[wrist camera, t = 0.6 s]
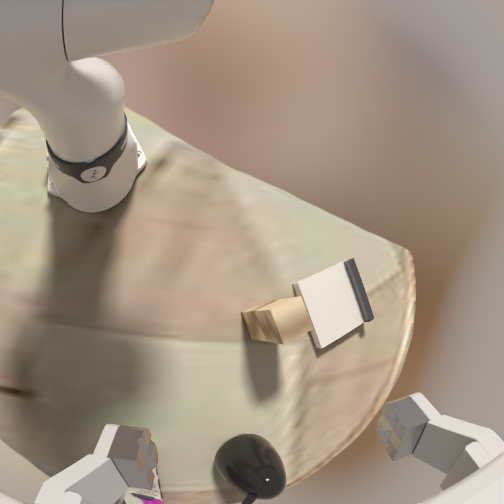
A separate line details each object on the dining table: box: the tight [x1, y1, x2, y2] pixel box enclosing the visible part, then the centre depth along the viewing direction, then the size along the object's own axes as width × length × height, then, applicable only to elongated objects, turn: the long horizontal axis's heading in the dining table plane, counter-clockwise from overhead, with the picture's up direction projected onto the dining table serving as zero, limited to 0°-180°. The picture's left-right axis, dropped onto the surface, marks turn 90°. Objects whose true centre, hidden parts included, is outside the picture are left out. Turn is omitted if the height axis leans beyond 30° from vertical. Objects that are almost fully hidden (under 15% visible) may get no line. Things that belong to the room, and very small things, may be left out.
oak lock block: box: [241, 296, 313, 344], centre depth 44 cm, size 5×5×12 cm
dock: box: [293, 258, 374, 348], centre depth 53 cm, size 13×13×4 cm
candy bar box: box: [118, 467, 163, 504], centre depth 28 cm, size 11×5×16 cm, turn 165°
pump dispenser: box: [215, 434, 286, 504], centre depth 35 cm, size 10×10×15 cm
